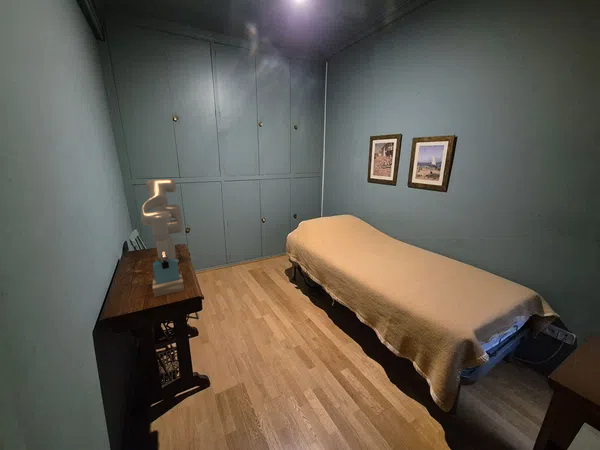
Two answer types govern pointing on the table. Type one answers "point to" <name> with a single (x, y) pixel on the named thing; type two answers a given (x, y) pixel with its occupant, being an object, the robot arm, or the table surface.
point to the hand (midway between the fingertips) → (165, 265)
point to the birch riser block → (168, 287)
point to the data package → (166, 271)
